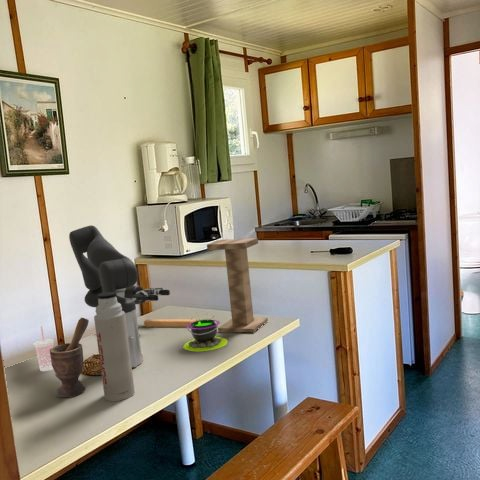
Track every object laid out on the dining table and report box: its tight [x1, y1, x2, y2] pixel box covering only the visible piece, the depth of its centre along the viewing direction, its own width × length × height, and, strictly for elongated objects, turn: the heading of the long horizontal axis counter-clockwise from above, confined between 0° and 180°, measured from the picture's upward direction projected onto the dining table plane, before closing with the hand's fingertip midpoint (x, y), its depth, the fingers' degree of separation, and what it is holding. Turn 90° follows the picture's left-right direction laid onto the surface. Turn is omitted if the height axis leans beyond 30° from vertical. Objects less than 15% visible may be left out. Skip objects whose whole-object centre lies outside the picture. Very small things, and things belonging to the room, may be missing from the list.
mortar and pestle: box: [50, 317, 89, 398], centre depth 150 cm, size 12×9×20 cm
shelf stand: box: [206, 237, 269, 333], centre depth 197 cm, size 16×14×32 cm
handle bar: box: [143, 318, 199, 328], centre depth 210 cm, size 22×3×2 cm, turn 70°
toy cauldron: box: [183, 311, 228, 353], centre depth 182 cm, size 15×15×11 cm
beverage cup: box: [33, 326, 55, 372], centre depth 172 cm, size 6×6×14 cm
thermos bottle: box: [93, 292, 136, 402], centre depth 143 cm, size 8×8×28 cm
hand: (163, 295), depth 210 cm, fingers open, 8 cm apart
